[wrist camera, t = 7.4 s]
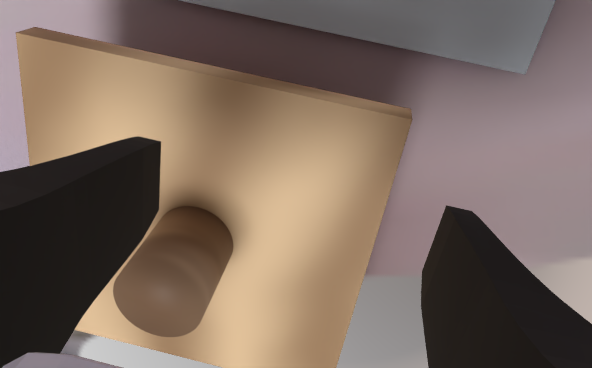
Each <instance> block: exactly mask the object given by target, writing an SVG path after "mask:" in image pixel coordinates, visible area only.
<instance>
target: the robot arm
mask: <svg viewBox="0 0 592 368" xmlns="http://www.w3.org/2000/svg"><path fill="white" fill-rule="evenodd" d="M160 164H161V141H157V140H153V139H148V138H144V137H139V136H137V137H131V138H127V139H123V140H119V141H115V142H112V143H109V144H105V145H102V146H99V147H96V148H92V149H89V150H86V151H82V152H79V153H76V154H73V155H69V156H66V157H62V158H58V159H54V160H51V161H47V162H43V163H39V164H36V165H32V166H28V167H23V168H19V169H14V170H9V171H4V172H0V368H121V367H118V366H114V365H110V364H106V363H102V362H98V361H94V360H91V359H87V358H83V357H79V356H75V355H71V354H60V352H61V351H62V349H63V347H64V346H65V344H66V342H67V341H68V339H69V338H70V336H71V334H72V333H73V331H74V330H75V328H76V326H77V325H78V323H79V322H80V320H81V318H82V317H83V315H84V314H85V313H86V311H87V310H88V308H89V307H90V306H91V304H92V303H93V302H94V300H95V299H96V298H97V297H98V295H99V294H100V293H101V291H102V290H103V289H104V288H105V286H106V285H107V284H108V283H109V281H110V280H111V279H112V278H113V276H114V275H115V274H116V273H117V271H118V270H119V269H120V268H121V266H122V265H123V264H124V263H125V261H126V260H127V259H128V257H129V256H130V255H131V254H132V252H133V251H134V250H135V248H136V247H137V246H138V245H139V243H140V242H141V241H142V239H143V238H144V236H145V234H146V232H147V231H148V229H149V227H150V226H151V224H152V222H153V220H154V218H155V216H156V215H157V213H158V211H159V197H160ZM421 309H422V318H423V325H424V335H425V342H426V350H427V358H428V366H429V368H592V324H591V323H590V322H588V321H587V320H586V319H584V318H583V317H582V316H581V315H579V314H578V313H577V312H576V311H574V310H573V309H572V308H571V307H569V306H568V305H567V304H566V303H564V302H563V301H562V300H561V299H559V298H558V297H557V296H556V295H555V294H554V293H553V292H551V291H550V290H549V289H548V288H547V287H546V286H545V285H544V284H543V283H542V282H541V281H540V280H539V279H537V278H536V277H535V276H534V275H533V274H532V273H531V272H530V271H529V270H528V269H527V268H526V267H525V266H524V265H523V264H522V263H521V262H520V261H519V260H518V259H517V258H516V257H515V256H514V255H513V254H512V253H511V252H510V251H509V250H508V248H507V247H506V246H505V245H504V244H503V243H502V242H501V241H500V240H499V239H498V238H497V237H496V235H495V234H494V233H493V232H492V231H491V230H490V229H489V228H488V227H487V226H486V225H485V224H484V223H483V221H482V220H481V219H480V218H479V217H478V216H477V215H476V214H474V213H473V212H472V211H469V210H464V209H460V208H455V207H451V206H446V208H445V211H444V213H443V216H442V219H441V222H440V224H439V227H438V230H437V232H436V235H435V238H434V241H433V243H432V246H431V249H430V251H429V254H428V257H427V260H426V262H425V265H424V268H423V270H422V289H421Z"/></svg>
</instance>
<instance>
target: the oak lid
mask: <svg viewBox="0 0 592 368" xmlns="http://www.w3.org/2000/svg"><path fill="white" fill-rule="evenodd" d="M16 39H17V49H18V58H19V67H20V77H21V86H22V96H23V105H24V114H25V124H26V133H27V143H28V152H29V162H30V166H32V165H36V164H39V163H43V162H47V161H51V160H54V159H58V158H62V157H66V156H69V155H73V154H76V153H79V152H82V151H86V150H89V149H92V148H96V147H99V146H102V145H105V144H109V143H112V142H115V141H119V140H123V139H127V138H131V137H137V136H139V137H144V138H148V139H153V140H157V141H161V164H160V197H159V211H158V213H157V215H156V216H155V218H154V220H153V222H152V224H151V226H150V227H149V229H148V231H147V232H146V234H145V236H144V238H143V239H142V241H141V242H140V243H139V245H138V246H137V247H136V248H135V250H134V251H133V252H132V254H131V255H130V256H129V257H128V259H127V260H126V261H125V263H124V264H123V265H122V266H121V268H120V269H119V270H118V271H117V273H116V274H115V275H114V276H113V278H112V279H111V280H110V281H109V283H108V284H107V285H106V286H105V288H104V289H103V290H102V291H101V293H100V294H99V295H98V297H97V298H96V299H95V300H94V302H93V303H92V304H91V306H90V307H89V308H88V310H87V311H86V313H85V314H84V315H83V317H82V318H81V320H80V322H79V323H78V325H77V326H76V328H75V330H78V331H82V332H86V333H90V334H94V335H98V336H101V337H105V338H109V339H113V340H117V341H121V342H125V343H129V344H133V345H137V346H141V347H145V348H149V349H153V350H157V351H160V352H164V353H168V354H172V355H176V356H180V357H184V358H188V359H192V360H196V361H200V362H204V363H207V364H212V365H215V366H219V367H223V368H336V366H337V363H338V360H339V356H340V353H341V350H342V347H343V343H344V340H345V337H346V333H347V330H348V327H349V324H350V320H351V317H352V314H353V311H354V308H355V304H356V301H357V298H358V295H359V291H360V288H361V285H362V282H363V278H364V275H365V272H366V269H367V265H368V262H369V259H370V256H371V252H372V249H373V246H374V243H375V239H376V236H377V233H378V230H379V226H380V223H381V220H382V217H383V213H384V210H385V207H386V204H387V200H388V197H389V194H390V190H391V187H392V184H393V181H394V177H395V174H396V171H397V168H398V164H399V161H400V158H401V155H402V151H403V148H404V145H405V142H406V138H407V135H408V132H409V129H410V125H411V122H412V114H411V109H408V108H404V107H399V106H395V105H390V104H385V103H381V102H376V101H372V100H367V99H362V98H358V97H353V96H349V95H344V94H340V93H335V92H330V91H326V90H321V89H317V88H312V87H308V86H303V85H298V84H294V83H289V82H285V81H280V80H276V79H271V78H266V77H262V76H257V75H253V74H248V73H244V72H239V71H234V70H230V69H225V68H221V67H216V66H211V65H207V64H202V63H198V62H193V61H189V60H184V59H179V58H175V57H170V56H166V55H161V54H157V53H152V52H147V51H143V50H138V49H134V48H129V47H125V46H120V45H115V44H111V43H106V42H102V41H97V40H92V39H88V38H83V37H79V36H74V35H70V34H65V33H60V32H56V31H51V30H47V29H42V28H38V27H33V28H30V29H26V30H23V31H20V32H16Z"/></svg>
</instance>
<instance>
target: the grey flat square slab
mask: <svg viewBox="0 0 592 368" xmlns="http://www.w3.org/2000/svg"><path fill="white" fill-rule="evenodd" d="M180 1H184V2H189V3H194V4H198V5H203V6H208V7H212V8H217V9H222V10H226V11H231V12H236V13H240V14H245V15H250V16H254V17H259V18H264V19H268V20H273V21H277V22H282V23H287V24H291V25H296V26H301V27H305V28H310V29H315V30H319V31H324V32H329V33H333V34H338V35H343V36H347V37H352V38H357V39H361V40H366V41H371V42H375V43H380V44H385V45H389V46H394V47H399V48H403V49H408V50H413V51H417V52H422V53H427V54H431V55H436V56H441V57H445V58H450V59H455V60H459V61H464V62H469V63H473V64H478V65H483V66H487V67H492V68H497V69H501V70H506V71H511V72H515V73H520V74H526V71H527V69H528V67H529V64H530V62H531V59H532V57H533V54H534V52H535V50H536V47H537V45H538V42H539V40H540V37H541V35H542V33H543V30H544V28H545V25H546V23H547V20H548V18H549V15H550V13H551V11H552V8H553V6H554V3H555V1H556V0H180Z"/></svg>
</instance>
